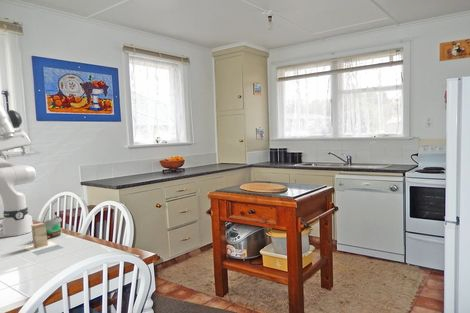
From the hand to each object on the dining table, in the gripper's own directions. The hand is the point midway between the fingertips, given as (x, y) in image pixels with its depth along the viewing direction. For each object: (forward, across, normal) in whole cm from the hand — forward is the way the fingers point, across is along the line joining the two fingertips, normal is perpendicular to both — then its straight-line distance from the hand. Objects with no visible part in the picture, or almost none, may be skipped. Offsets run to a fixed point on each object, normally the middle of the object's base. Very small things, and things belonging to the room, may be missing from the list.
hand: (16, 156), depth 178 cm
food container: (+47, -4, -6) cm, 48 cm away
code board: (+49, +11, +6) cm, 50 cm away
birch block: (+47, +9, +2) cm, 48 cm away
